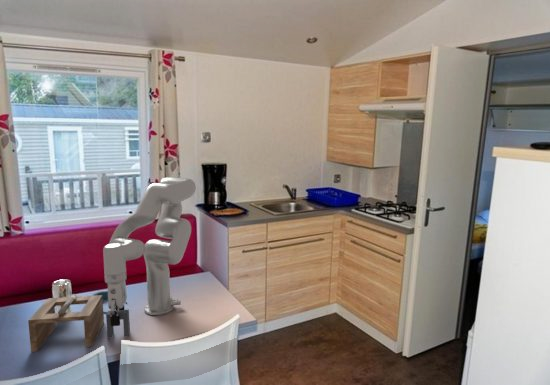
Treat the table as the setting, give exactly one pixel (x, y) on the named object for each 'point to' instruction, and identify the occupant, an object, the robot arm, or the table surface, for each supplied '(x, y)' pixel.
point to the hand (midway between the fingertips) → (118, 320)
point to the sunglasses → (103, 296)
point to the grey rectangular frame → (123, 315)
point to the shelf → (66, 318)
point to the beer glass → (62, 291)
